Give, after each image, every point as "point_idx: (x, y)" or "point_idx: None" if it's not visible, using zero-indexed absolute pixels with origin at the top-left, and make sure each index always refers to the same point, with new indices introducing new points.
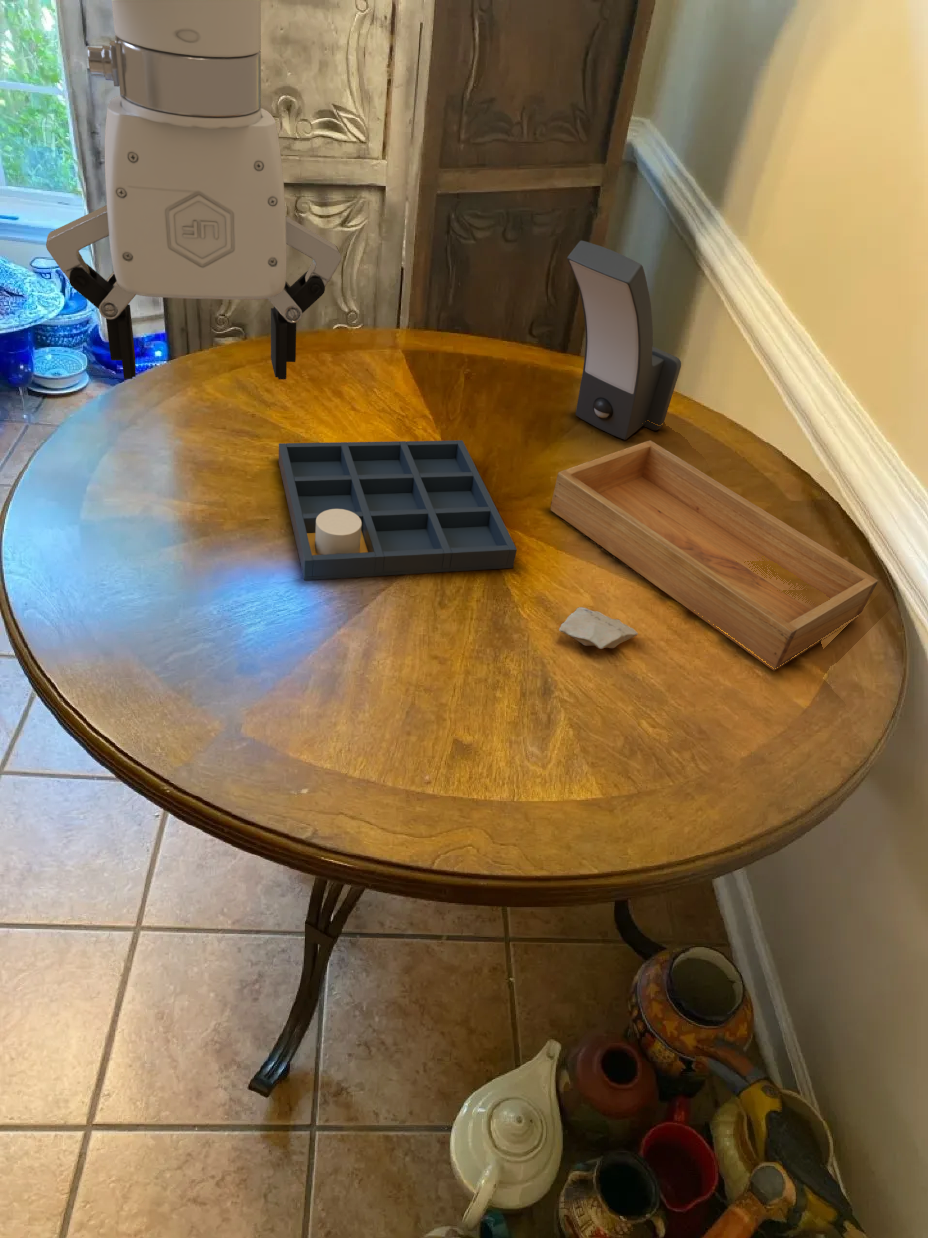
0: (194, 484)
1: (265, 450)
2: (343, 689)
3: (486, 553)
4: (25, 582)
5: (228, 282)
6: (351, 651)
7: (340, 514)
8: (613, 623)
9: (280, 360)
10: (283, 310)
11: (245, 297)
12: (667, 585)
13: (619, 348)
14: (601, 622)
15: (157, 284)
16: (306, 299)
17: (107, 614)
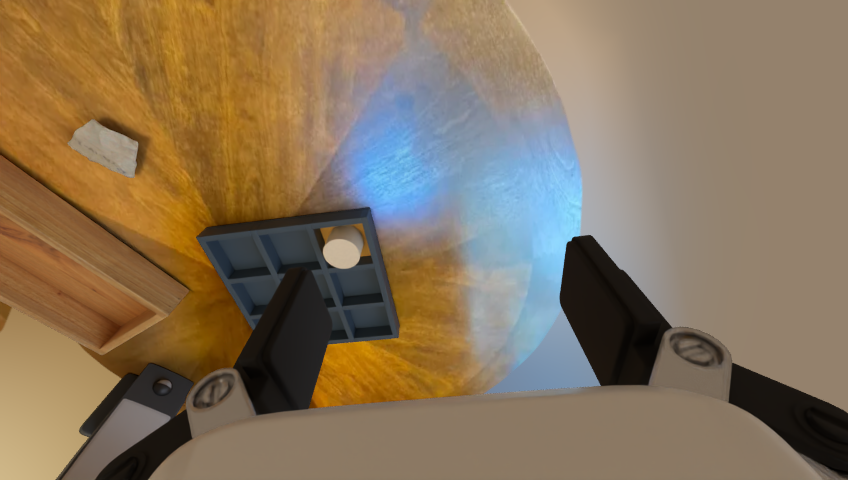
0: (455, 301)
1: (409, 335)
2: (323, 75)
3: (221, 232)
4: (571, 198)
5: (339, 470)
6: (322, 125)
7: (341, 262)
8: (89, 152)
9: (286, 291)
10: (233, 396)
11: (294, 413)
12: (56, 203)
13: (118, 437)
14: (99, 151)
15: (625, 430)
16: (170, 436)
17: (514, 165)
